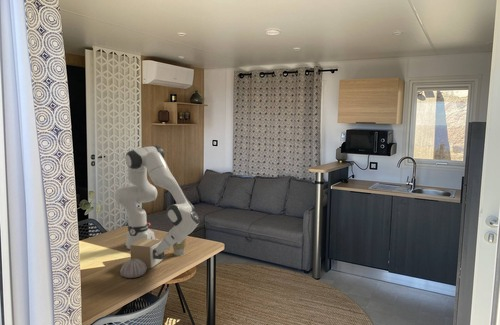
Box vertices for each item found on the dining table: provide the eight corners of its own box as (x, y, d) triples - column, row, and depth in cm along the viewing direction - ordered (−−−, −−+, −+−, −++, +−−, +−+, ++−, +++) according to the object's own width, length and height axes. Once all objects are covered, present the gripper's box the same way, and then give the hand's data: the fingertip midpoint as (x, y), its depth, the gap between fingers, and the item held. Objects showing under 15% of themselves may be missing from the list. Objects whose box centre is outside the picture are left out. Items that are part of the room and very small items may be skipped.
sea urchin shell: (133, 282, 187) (132, 266, 186) (114, 276, 194) (113, 261, 193) (152, 272, 199) (151, 257, 198) (133, 267, 205) (133, 253, 204)
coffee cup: (169, 252, 229) (168, 228, 227) (184, 249, 233) (184, 226, 232) (173, 257, 220) (173, 232, 218) (189, 254, 225) (189, 230, 223)
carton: (142, 258, 219) (141, 238, 217) (161, 260, 216) (160, 239, 214) (130, 266, 207) (130, 244, 206) (150, 268, 204) (149, 246, 203)
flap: (161, 259, 215) (161, 240, 214) (170, 260, 214) (170, 241, 213) (150, 267, 204) (150, 247, 203) (160, 268, 202) (159, 248, 201)
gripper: (181, 225, 211) (165, 241, 215) (163, 236, 192) (147, 253, 195) (188, 234, 211) (173, 249, 214) (171, 246, 191) (155, 262, 195)
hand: (160, 251), depth 205 cm, fingers open, 8 cm apart
